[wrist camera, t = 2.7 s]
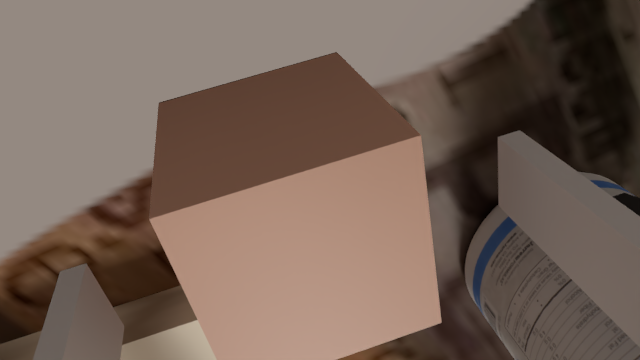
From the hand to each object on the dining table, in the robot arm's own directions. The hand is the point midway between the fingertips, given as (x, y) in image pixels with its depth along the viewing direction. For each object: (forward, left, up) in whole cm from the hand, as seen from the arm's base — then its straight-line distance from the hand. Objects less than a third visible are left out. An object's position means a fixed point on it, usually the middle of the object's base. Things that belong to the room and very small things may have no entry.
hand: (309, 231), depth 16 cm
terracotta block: (0, 0, -6) cm, 6 cm away
